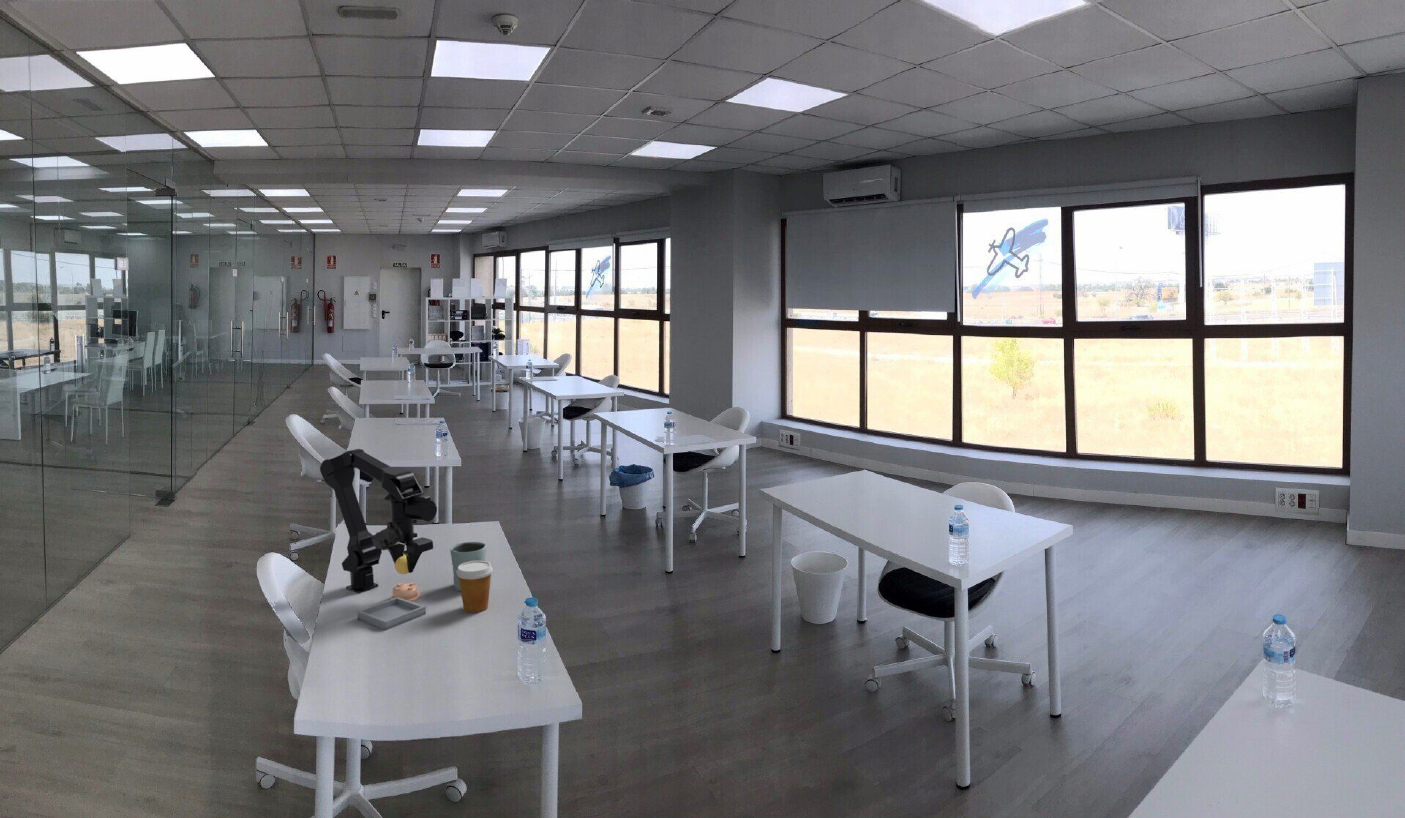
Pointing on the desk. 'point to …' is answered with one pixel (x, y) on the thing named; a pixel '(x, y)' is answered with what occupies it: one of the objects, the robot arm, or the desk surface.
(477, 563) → the disposable coffee cup
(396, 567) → the ball
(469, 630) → the desk surface
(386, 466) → the robot arm
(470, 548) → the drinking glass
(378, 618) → the tray
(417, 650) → the desk surface
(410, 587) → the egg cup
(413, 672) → the desk surface
